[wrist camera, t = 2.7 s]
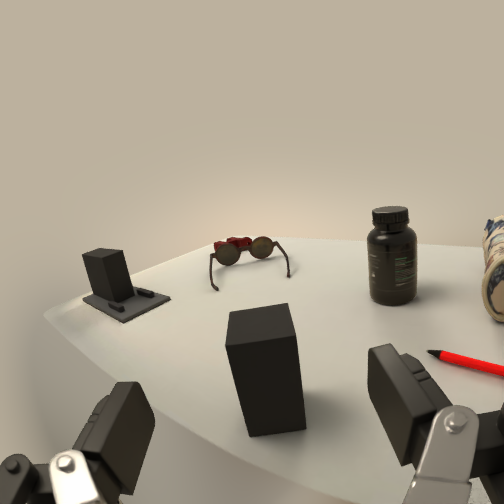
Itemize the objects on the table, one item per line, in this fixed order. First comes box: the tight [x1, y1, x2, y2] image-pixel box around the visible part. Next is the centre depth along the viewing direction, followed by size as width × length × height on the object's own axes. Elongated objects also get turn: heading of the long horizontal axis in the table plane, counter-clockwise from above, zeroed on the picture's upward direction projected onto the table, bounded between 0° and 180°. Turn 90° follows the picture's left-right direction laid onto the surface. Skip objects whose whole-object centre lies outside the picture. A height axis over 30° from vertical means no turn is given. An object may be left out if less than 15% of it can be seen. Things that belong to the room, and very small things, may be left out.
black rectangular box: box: [225, 303, 306, 437], centre depth 23 cm, size 4×5×9 cm
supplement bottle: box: [367, 206, 417, 305], centre depth 39 cm, size 7×7×12 cm
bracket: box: [214, 237, 252, 252], centre depth 78 cm, size 3×6×10 cm
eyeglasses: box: [209, 236, 290, 291], centre depth 60 cm, size 15×15×5 cm
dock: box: [82, 248, 170, 323], centre depth 55 cm, size 10×20×10 cm, turn 50°
